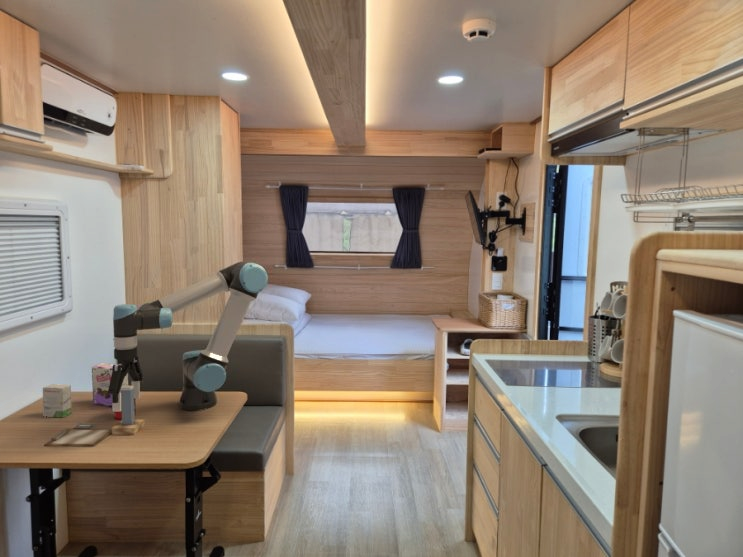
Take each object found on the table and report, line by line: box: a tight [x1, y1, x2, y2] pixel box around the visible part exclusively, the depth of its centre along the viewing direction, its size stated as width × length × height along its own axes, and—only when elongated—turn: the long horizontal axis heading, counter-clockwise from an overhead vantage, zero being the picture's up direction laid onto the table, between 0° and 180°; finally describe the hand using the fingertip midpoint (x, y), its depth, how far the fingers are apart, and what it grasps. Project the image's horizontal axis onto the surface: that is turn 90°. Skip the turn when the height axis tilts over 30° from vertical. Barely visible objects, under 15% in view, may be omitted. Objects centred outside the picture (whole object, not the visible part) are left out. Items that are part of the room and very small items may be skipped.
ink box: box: [42, 383, 72, 418], centre depth 187 cm, size 9×5×12 cm, turn 84°
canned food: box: [113, 389, 137, 421], centre depth 186 cm, size 8×8×11 cm
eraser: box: [121, 384, 136, 425], centre depth 173 cm, size 3×2×16 cm
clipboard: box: [43, 428, 112, 447], centre depth 167 cm, size 17×13×1 cm
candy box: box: [91, 362, 129, 407], centre depth 200 cm, size 14×6×16 cm, turn 73°
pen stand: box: [111, 418, 146, 436], centre depth 174 cm, size 8×8×2 cm
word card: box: [72, 423, 96, 429], centre depth 177 cm, size 6×4×1 cm, turn 91°
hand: (126, 404), depth 173 cm, fingers open, 13 cm apart
